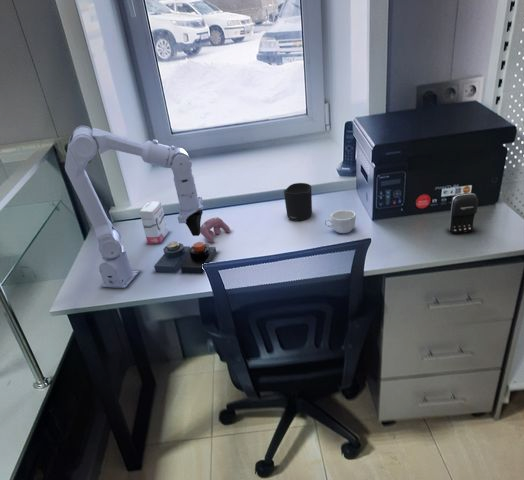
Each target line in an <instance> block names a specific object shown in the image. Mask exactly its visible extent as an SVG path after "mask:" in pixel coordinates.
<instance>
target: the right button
mask: <svg viewBox="0 0 524 480" xmlns="http://www.w3.org/2000/svg"><path fill="white" fill-rule="evenodd" d="M204 244H205V242H203V241H197V242H194V243H193V244H192V246H193V248H194V251H195V252H200V251H203V250H205V245H204Z"/></svg>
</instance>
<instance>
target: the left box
mask: <svg viewBox="0 0 524 480" xmlns="http://www.w3.org/2000/svg"><path fill="white" fill-rule="evenodd" d="M178 244H179V249H178V250H175V251H169V250H168V247H167V245H166V246H164V248H162V249H163V255H162V256H161V257H160V258H159V259H158V261H157V262H156V263H155V264H154V266H153V268H154V271H155V273H172V274H173V273H174V274H175V273H176V274H177V272H178V271H179V270H180V269H181V268H180V267H181V265H182V264H183V263H184V261H185V260H186V259H187V257H188V256H189V255H190V252H189V249H190V248H191V246H190V245H189V246H186V245H185V246H184V244H183V243H180V242H178Z"/></svg>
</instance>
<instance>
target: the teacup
mask: <svg viewBox="0 0 524 480" xmlns="http://www.w3.org/2000/svg"><path fill="white" fill-rule="evenodd" d="M356 216H357V213H356V212H355V211H354V210H352V209H351V210H350V209H339V210H336V211H333V212H332V213H331V214H330V218H326V219H325V220H324V226H326V227H327V228H330V229H331V228H332V229H333V230H334V231H335V232H336V233H339V234H348V233H350V232H352V231H353V229H354V227H355V225H356ZM327 221H328V222H330V224H327Z"/></svg>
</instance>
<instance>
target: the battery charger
mask: <svg viewBox="0 0 524 480" xmlns="http://www.w3.org/2000/svg"><path fill="white" fill-rule="evenodd" d="M478 206H479V198H478V197H477V195H476V193H472V192H469V193H461V194H455V195H454V196H453V197H452V200H451V206H450V216H449V218H450V219H449V227H448V231H449V232H450V233H451V234H464V233H466V234H467V233H472V232H473V228H474V219H475V215H476V214H477V212H478Z"/></svg>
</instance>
